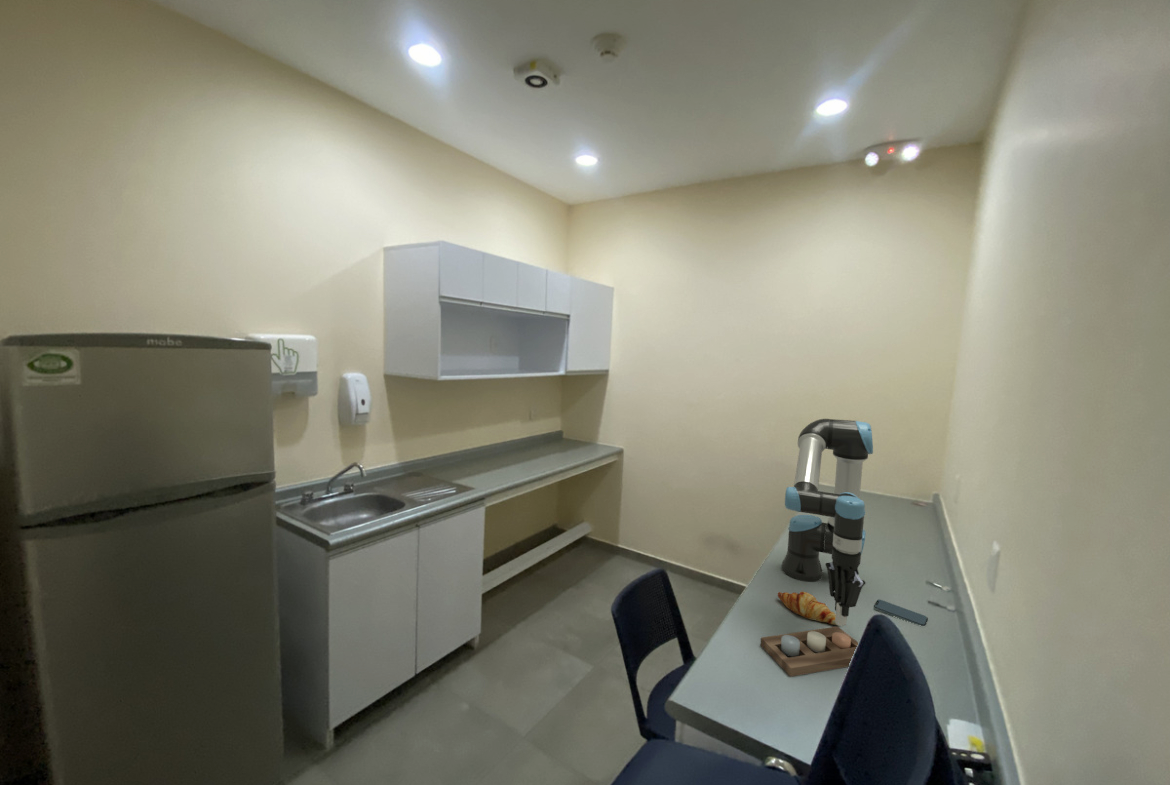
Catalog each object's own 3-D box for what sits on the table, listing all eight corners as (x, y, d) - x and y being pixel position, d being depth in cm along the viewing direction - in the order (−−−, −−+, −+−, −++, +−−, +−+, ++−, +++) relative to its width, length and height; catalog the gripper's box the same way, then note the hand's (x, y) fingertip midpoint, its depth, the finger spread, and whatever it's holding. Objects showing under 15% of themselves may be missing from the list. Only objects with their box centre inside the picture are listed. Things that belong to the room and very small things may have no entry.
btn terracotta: (827, 644, 144) (828, 633, 144) (841, 641, 145) (842, 631, 145) (840, 654, 139) (840, 643, 139) (854, 652, 141) (854, 641, 140)
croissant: (841, 633, 156) (847, 609, 158) (832, 630, 150) (839, 606, 152) (779, 605, 172) (786, 583, 174) (769, 601, 165) (775, 579, 167)
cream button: (803, 643, 142) (803, 632, 142) (817, 641, 143) (817, 630, 143) (814, 653, 137) (815, 642, 137) (829, 651, 138) (829, 640, 138)
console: (760, 645, 144) (760, 637, 144) (837, 633, 150) (837, 626, 150) (790, 676, 130) (791, 668, 130) (873, 662, 137) (873, 654, 137)
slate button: (777, 647, 140) (777, 636, 139) (791, 644, 141) (792, 634, 141) (788, 658, 135) (788, 646, 135) (802, 655, 136) (803, 644, 136)
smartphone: (925, 625, 154) (873, 606, 165) (924, 630, 155) (872, 610, 165) (928, 616, 160) (878, 598, 170) (927, 621, 160) (877, 602, 170)
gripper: (819, 541, 144) (814, 613, 147) (853, 560, 132) (847, 638, 134) (840, 539, 146) (834, 610, 149) (875, 557, 134) (868, 635, 136)
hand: (840, 623), depth 141 cm, fingers closed
